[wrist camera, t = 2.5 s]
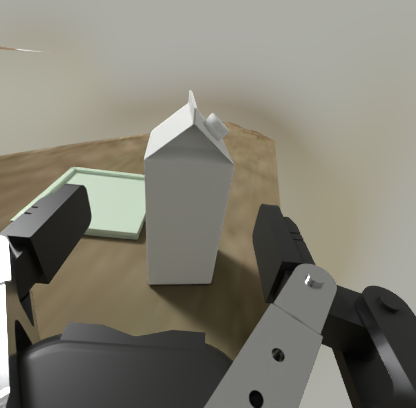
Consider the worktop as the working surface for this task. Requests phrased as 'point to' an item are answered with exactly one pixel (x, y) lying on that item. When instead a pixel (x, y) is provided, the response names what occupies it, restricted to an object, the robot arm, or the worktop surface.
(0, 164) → the worktop surface
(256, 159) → the worktop surface
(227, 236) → the worktop surface
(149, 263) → the milk carton
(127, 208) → the tray
